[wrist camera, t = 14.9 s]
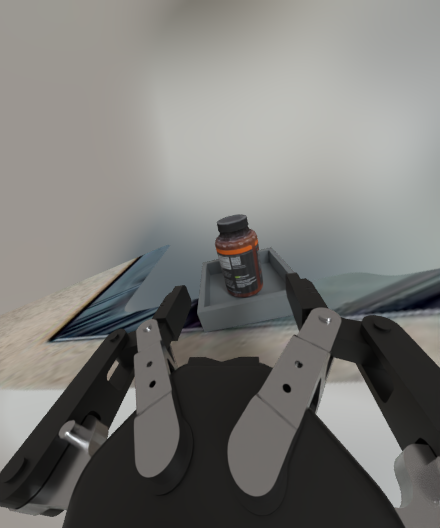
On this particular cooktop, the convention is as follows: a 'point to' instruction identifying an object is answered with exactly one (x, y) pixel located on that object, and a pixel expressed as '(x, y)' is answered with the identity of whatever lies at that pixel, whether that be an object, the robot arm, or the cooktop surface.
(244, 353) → the cooktop surface
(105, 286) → the cooktop surface
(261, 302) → the tray
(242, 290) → the supplement bottle
